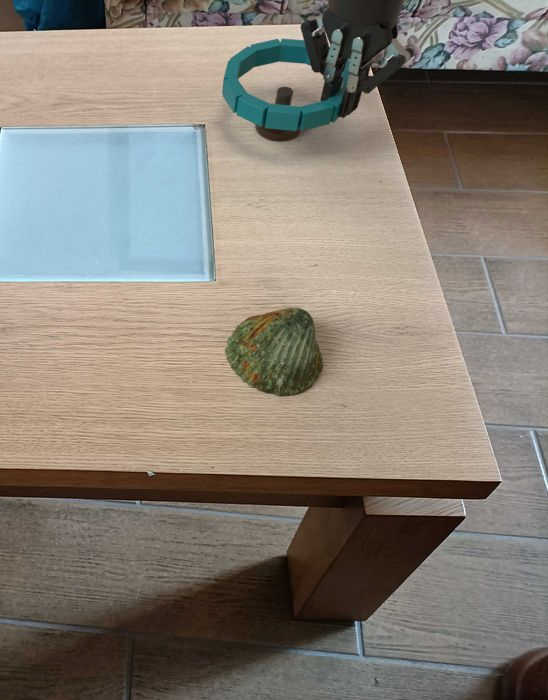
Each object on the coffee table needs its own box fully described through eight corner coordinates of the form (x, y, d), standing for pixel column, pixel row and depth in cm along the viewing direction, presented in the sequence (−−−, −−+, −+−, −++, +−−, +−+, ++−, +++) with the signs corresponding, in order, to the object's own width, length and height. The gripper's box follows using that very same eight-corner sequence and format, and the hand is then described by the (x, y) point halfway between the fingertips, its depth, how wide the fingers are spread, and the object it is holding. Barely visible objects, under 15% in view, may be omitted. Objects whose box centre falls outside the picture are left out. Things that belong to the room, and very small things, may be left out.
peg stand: (296, 112, 92) (304, 75, 88) (304, 140, 89) (313, 103, 84) (252, 114, 92) (258, 78, 88) (258, 142, 89) (265, 106, 84)
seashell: (212, 329, 67) (278, 276, 70) (206, 351, 70) (269, 299, 74) (291, 396, 63) (357, 336, 66) (281, 415, 66) (344, 358, 70)
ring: (317, 46, 91) (320, 28, 89) (376, 113, 82) (382, 95, 80) (205, 70, 90) (206, 54, 88) (253, 142, 81) (255, 125, 79)
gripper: (458, -33, 67) (404, 118, 81) (338, -69, 73) (307, 76, 87) (418, -2, 64) (369, 148, 78) (297, -42, 70) (271, 103, 84)
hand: (336, 110), depth 82 cm, fingers closed on ring, 1 cm apart
